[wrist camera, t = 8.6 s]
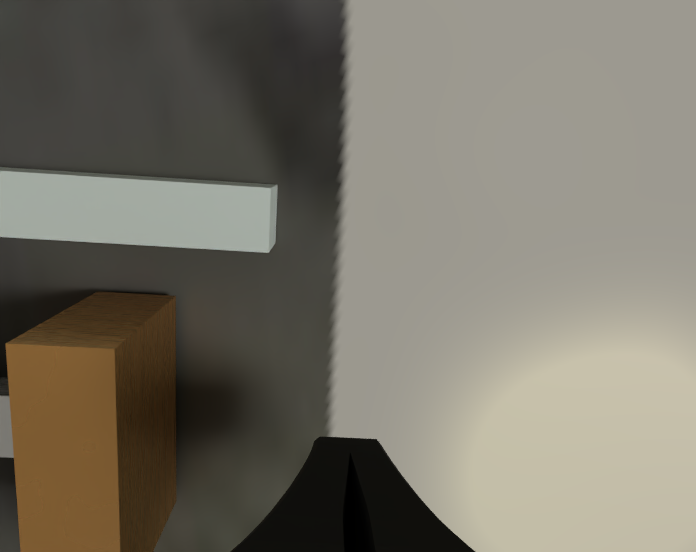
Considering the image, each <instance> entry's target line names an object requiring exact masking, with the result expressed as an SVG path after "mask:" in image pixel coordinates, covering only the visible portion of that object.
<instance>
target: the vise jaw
mask: <svg viewBox="0 0 696 552" xmlns="http://www.w3.org/2000/svg"><path fill="white" fill-rule="evenodd" d="M5 344H6V358H7V371H8V378H0V457H8V458H14V466H15V480H16V494H17V507H18V521H19V535H20V548H21V552H153V550H154V548H155V546H156V544H157V542H158V539H159V537H160V535H161V533H162V531H163V529H164V526H165V524H166V522H167V520H168V518H169V515H170V513H171V511H172V509H173V507H174V505H175V502H176V296H168V295H150V294H132V293H114V292H96V293H94V294H92V295H90V296H89V297H87V298H85V299H83V300H82V301H80V302H78V303H76V304H75V305H73V306H71V307H69V308H67V309H66V310H64V311H62V312H60V313H59V314H57V315H55V316H53V317H52V318H50V319H48V320H46V321H44V322H43V323H41V324H39V325H37V326H36V327H34V328H32V329H30V330H28V331H27V332H25V333H23V334H21V335H20V336H18V337H16V338H14V339H13V340H11V341H9V342H7V343H5Z"/></svg>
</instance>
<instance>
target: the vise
mask: <svg viewBox="0 0 696 552" xmlns="http://www.w3.org/2000/svg"><path fill="white" fill-rule="evenodd" d="M276 212H277V185H273V184H258V183H242V182H226V181H211V180H195V179H179V178H164V177H148V176H132V175H117V174H101V173H85V172H70V171H54V170H38V169H23V168H7V167H0V237H11V238H28V239H45V240H62V241H79V242H96V243H113V244H130V245H147V246H164V247H181V248H198V249H215V250H232V251H248V252H265V253H269V251H270V250H271V248H272V247H273V246H274V244H275V240H276Z"/></svg>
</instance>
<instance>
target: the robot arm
mask: <svg viewBox="0 0 696 552" xmlns="http://www.w3.org/2000/svg"><path fill="white" fill-rule="evenodd" d="M231 552H475V551H474V550H472V549H471V548H470V547H469V546H468V545H467V544H466V543H464V542H463V541H462V540H461V539H460V538H459V537H458V536H456V535H455V534H454V533H453V532H452V531H451V530H450V529H448V527H446V526H445V525H444V524H443V523H442V522H441V521H440V520H439V519H438V518H437V517H436V516H435V514H434V513H433V512H432V511H431V510H430V509H429V508H428V507H427V506H426V505H425V503H424V502H423V501H422V500H421V499H420V498H419V497H418V495H417V494H416V493H415V492H414V490H413V489H412V488H411V487H410V485H409V484H408V483H407V481H406V480H405V479H404V477H403V476H402V475H401V473H400V472H399V471H398V469H397V468H396V466H395V465H394V464H393V462H392V461H391V459H390V458H389V456H388V455H387V453H386V452H385V450H384V449H383V447H382V446H381V444H380V443H379V442H378V441H377V439H360V438H340V437H319V438H318V439H316V440H315V441H314V445H313V447H312V450H311V452H310V454H309V456H308V458H307V460H306V462H305V464H304V465H303V467H302V469H301V470H300V472H299V473H298V475H297V477H296V478H295V480H294V481H293V483H292V484H291V486H290V487H289V489H288V490H287V491H286V493H285V494H284V495H283V496H282V498H281V499H280V500H279V502H278V503H277V504H276V505H275V507H274V508H273V509H272V510H271V512H270V513H269V514H268V515H267V516H266V517H265V519H264V520H263V521H262V522H261V523H260V524H259V525H258V526H257V527H256V528H255V529H254V530H253V531H252V532H251V533H250V534H249V535H248V536H247V537H246V538H245V539H244V540H243V541H242V542H241V543H240V544H239V545H238V546H236V547H235V548H234V549H233V550H232V551H231Z"/></svg>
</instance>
